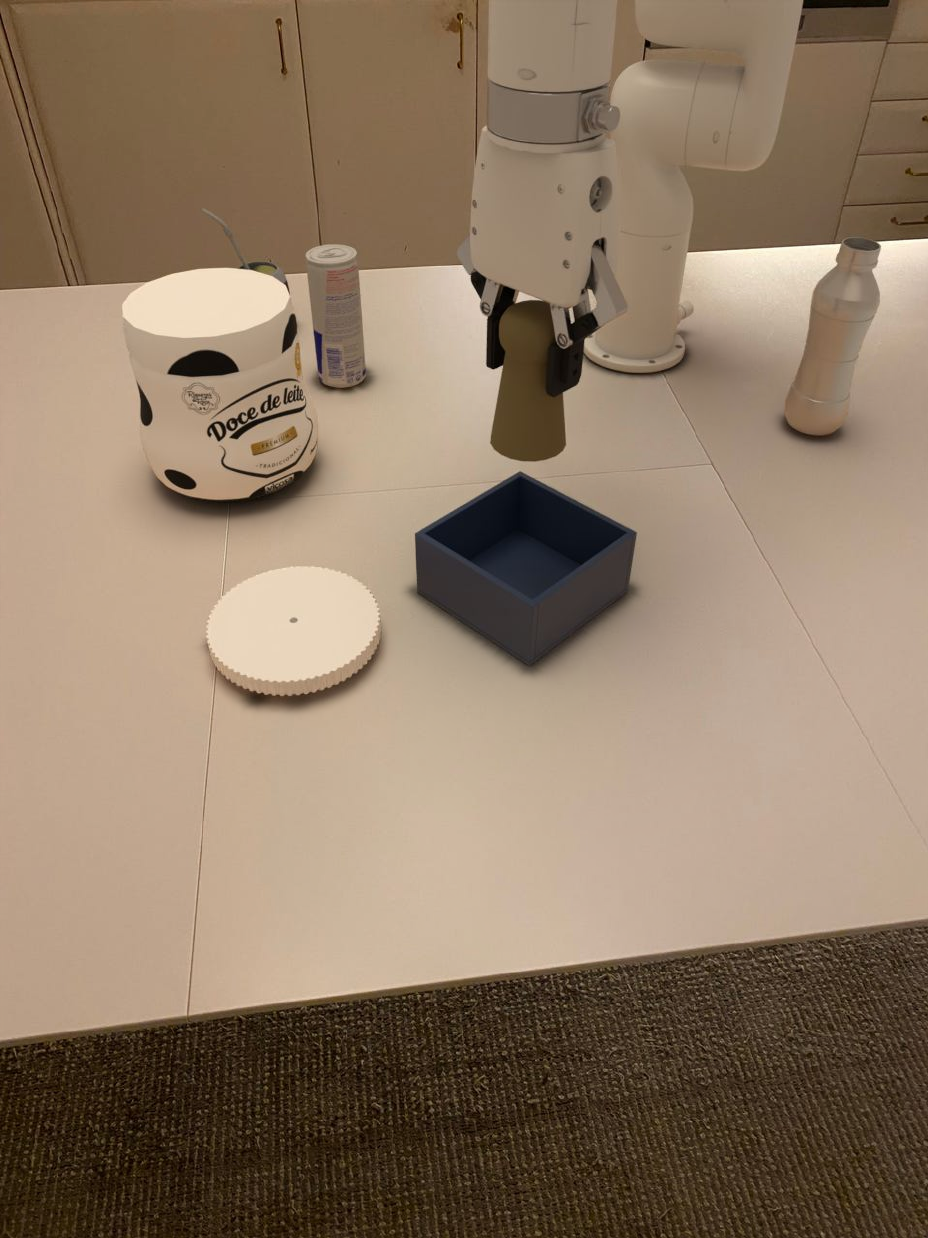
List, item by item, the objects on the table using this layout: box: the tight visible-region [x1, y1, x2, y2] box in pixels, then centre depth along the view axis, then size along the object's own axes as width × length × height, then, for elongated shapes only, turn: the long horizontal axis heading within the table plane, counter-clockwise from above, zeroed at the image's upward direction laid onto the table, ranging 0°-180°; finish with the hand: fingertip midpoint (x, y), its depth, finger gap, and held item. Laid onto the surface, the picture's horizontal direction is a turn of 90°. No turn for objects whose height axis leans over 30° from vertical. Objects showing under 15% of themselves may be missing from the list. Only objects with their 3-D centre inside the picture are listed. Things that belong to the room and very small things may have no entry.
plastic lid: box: [205, 565, 382, 697], centre depth 78 cm, size 14×14×2 cm
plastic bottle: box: [783, 236, 882, 437], centre depth 98 cm, size 6×7×20 cm
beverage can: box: [305, 243, 367, 389], centre depth 107 cm, size 6×6×15 cm
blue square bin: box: [414, 470, 638, 667], centre depth 82 cm, size 13×13×6 cm
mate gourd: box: [201, 207, 291, 296], centre depth 117 cm, size 8×8×15 cm
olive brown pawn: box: [490, 299, 567, 463], centre depth 72 cm, size 6×6×11 cm
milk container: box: [121, 267, 319, 503], centre depth 92 cm, size 17×17×18 cm
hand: (532, 373), depth 72 cm, fingers closed on olive brown pawn, 5 cm apart
